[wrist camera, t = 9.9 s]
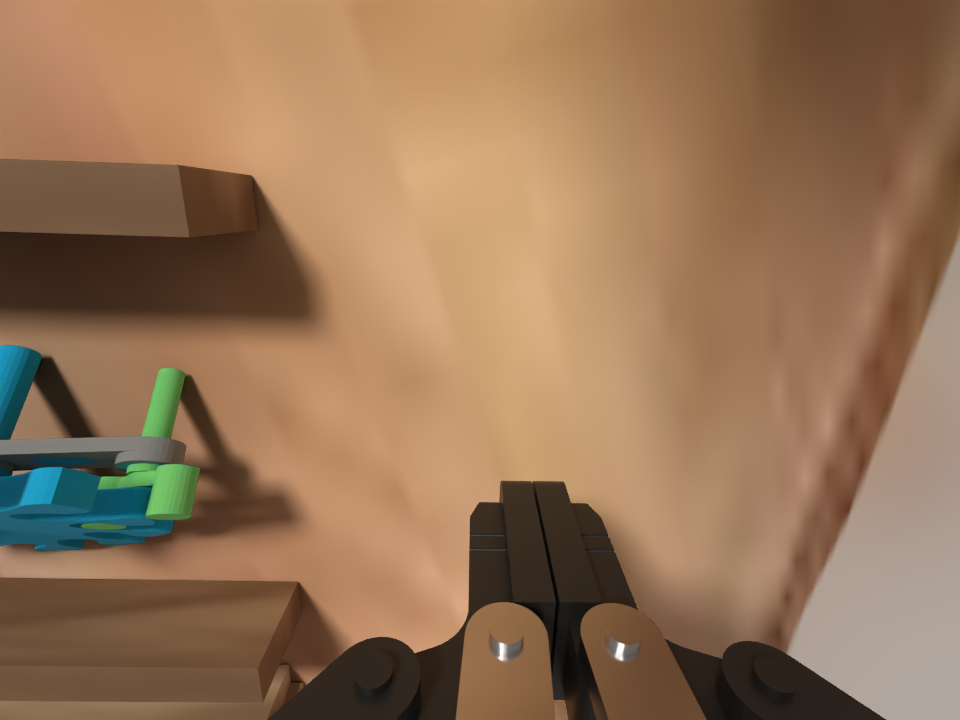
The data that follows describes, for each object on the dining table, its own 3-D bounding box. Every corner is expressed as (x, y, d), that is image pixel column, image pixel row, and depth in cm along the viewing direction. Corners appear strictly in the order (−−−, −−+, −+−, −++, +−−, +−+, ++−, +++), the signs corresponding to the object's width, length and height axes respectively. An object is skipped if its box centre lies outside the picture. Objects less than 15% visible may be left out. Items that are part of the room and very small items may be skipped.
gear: (-107, 579, 16) (-784, 556, 7) (-33, 412, 18) (-448, 237, 9) (247, 556, 17) (80, 513, 8) (267, 406, 20) (156, 254, 11)
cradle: (-275, 157, 13) (-535, 140, 10) (251, 175, 13) (177, 165, 10) (-78, 608, 18) (-204, 699, 15) (301, 612, 18) (263, 702, 15)
